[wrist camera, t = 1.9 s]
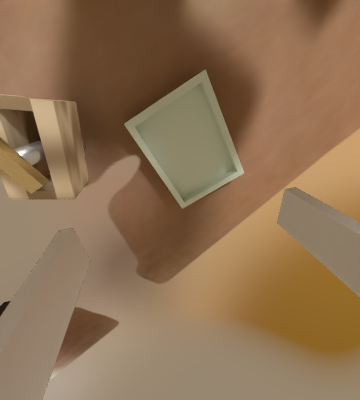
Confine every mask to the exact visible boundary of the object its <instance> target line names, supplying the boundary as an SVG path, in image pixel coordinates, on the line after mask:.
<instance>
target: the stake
mask: <svg viewBox="0 0 360 400" xmlns="http://www.w3.org/2000/svg"><path fill="white" fill-rule="evenodd" d="M82 141H83V140H82ZM83 147H84V148H85V145H84V142H83ZM45 158H46V157H45V153H44V149H43V146H42V142H41V140H39V141H36V142H33V143H31V144H28V145H25V146H22V147H19V148H16V149H13V148H12V147H11V146H10V145H9V144H8V143H6V142H5V141H4V140H3V139H2V138H1V137H0V169H1V170H2V171H4V172H5V173H6V174H7V175H9V176H10V177H11V178H12V179H14V180H15V181H16V182H17V183H19V184H20V185H21V186H22V187H24V188H25V189H26V190H27V191H29V192H30V193H31V194H32V193H33V192H35V191H36V190H38V189H39V188H41V187H42V186H44V185H45V184H46V183H47V182H49V180H48V179H47V178H46V177H45V176H43V175H42V174H41V173H40V172H39V171H38V170H37V169H36V168H34V167H33V166H32V165H34V164H36V163H38V162H39V161H41V160H43V159H45Z"/></svg>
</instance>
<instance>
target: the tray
mask: <svg viewBox="0 0 360 400" xmlns="http://www.w3.org/2000/svg"><path fill="white" fill-rule="evenodd" d="M124 125H125V127H126V128H127V130H128V131H129V133H130V134H131V135H132V137H133V138H134V140H135V141H136V143H137V144H138V146H139V147H140V148H141V150H142V151H143V153H144V154H145V156H146V157H147V159H148V160H149V161H150V163H151V164H152V166H153V167H154V169H155V170H156V172H157V173H158V174H159V176H160V177H161V179H162V180H163V182H164V183H165V185H166V186H167V187H168V189H169V190H170V192H171V193H172V195H173V196H174V198H175V199H176V201H177V202H178V203H179V205H180V206H181V208H182V209H183V208H185V207H187V206H188V205H190V204H192V203H193V202H195V201H197V200H199V199H200V198H202V197H204V196H205V195H207V194H209V193H211V192H212V191H214V190H216V189H218V188H219V187H221V186H223V185H224V184H226V183H228V182H230V181H231V180H233V179H235V178H236V177H238V176H240V175H242V174H243V173H244V171H243V168H242V166H241V163H240V160H239V158H238V155H237V152H236V150H235V147H234V144H233V142H232V139H231V136H230V134H229V131H228V128H227V125H226V123H225V120H224V117H223V115H222V112H221V109H220V107H219V104H218V101H217V99H216V96H215V93H214V91H213V88H212V85H211V83H210V80H209V77H208V75H207V72H206V69H205V70H203V71H202V72H200V73H199V74H197V75H196V76H194V77H193V78H191V79H190V80H188V81H187V82H185V83H184V84H182V85H181V86H179V87H178V88H176V89H175V90H173V91H172V92H170V93H169V94H167V95H166V96H164V97H163V98H161V99H160V100H158V101H157V102H155V103H154V104H152V105H151V106H149V107H148V108H146V109H145V110H143V111H142V112H140V113H139V114H137V115H136V116H135V117H133V118H132V119H130V120H129V121H127V122H126V123H124Z"/></svg>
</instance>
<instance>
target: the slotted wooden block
mask: <svg viewBox="0 0 360 400" xmlns="http://www.w3.org/2000/svg"><path fill="white" fill-rule="evenodd" d="M0 137H1V138H2V139H3V140H4V141H5V142H6V143H8V144H9V145H10V146H11V147H12V148H13V149H16V148H19V147H22V146H25V145H28V144H31V143H33V142H36V141H39V140H41V142H42V146H43V149H44V153H45V157H46V158H45V159H43V160H41V161H39V162H38V163H36V164H34V165H32V166H33V167H34V168H36V169H37V170H38V171H39V172H40V173H41V174H42V175H43V176H45V177H46V178H47V179H48V180H49V182H47V183H46V184H45V185H44V186H42V187H41V188H39V189H38V190H36V191H35V192H33V193H32V194H31V193H30V192H29V191H27V190H26V189H25V188H24V187H22V186H21V185H20V184H19V183H17V182H16V181H15V180H14V179H12V178H11V177H10V176H9V175H7V174H6V173H5V172H4V171H2V170H1V169H0V177H1V179H2V181H3V184H4V186H5V188H6V191H7V193H8V196H9V198H10V199H75V198H76V196H77V195H78V194H79V193H80V191H81V190H82V189H83V187H84V186H85V185H86V183H87V182H88V181H89V177H88V171H87V165H86V159H85V153H84V147H83V141H82V135H81V129H80V123H79V117H78V111H77V105H76V102H73V101H63V100H53V99H43V98H34V97H24V96H14V95H0Z"/></svg>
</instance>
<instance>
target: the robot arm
mask: <svg viewBox="0 0 360 400" xmlns="http://www.w3.org/2000/svg"><path fill="white" fill-rule="evenodd" d="M277 223H278V224H279V225H280V226H281V227H282V228H283V229H284V230H285V231H287V232H288V233H289V234H290V235H291V236H292V237H293V238H294V239H295V240H297V241H298V242H299V243H300V244H301V245H302V246H303V247H304V248H305V249H307V250H308V251H309V252H310V253H311V254H312V255H313V256H314V257H315V258H317V259H318V260H319V261H320V262H321V263H322V264H324V266H325V267H327V268H328V269H329V270H330V271H331V272H332V273H333V274H334V275H336V276H337V277H338V278H339V279H340V280H341V281H342V282H343V283H345V285H347V286H348V287H349V288H350V289H351V290H352V291H353V292H354V293H356V294H357V295H358V296H359V297H360V222H358V221H356V220H354V219H352V218H350V217H349V216H347V215H345V214H343V213H341V212H340V211H338V210H336V209H334V208H332V207H331V206H329V205H327V204H325V203H323V202H322V201H320V200H318V199H316V198H314V197H312V196H311V195H309V194H307V193H305V192H303V191H301V190H300V189H298V188H296V187H294V188H289V189H285V191H284V194H283V199H282V203H281V207H280V212H279V216H278V220H277ZM89 264H90V259H89V257H88V255H87V253H86V251H85V249H84V248H83V246H82V244H81V242H80V240H79V238H78V236H77V234H76V233H75V231H74V229H73V228H70V229H65V230H60V231H58V233H57V234H56V236H55V237H54V239H53V240H52V241H51V243H50V244H49V246H48V247H47V249H46V250H45V252H44V253H43V255H42V256H41V258H40V259H39V261H38V262H37V263H36V265H35V266H34V268H33V269H32V271H31V273H30V274H29V275H28V277H27V278H26V280H25V281H24V283H23V284H22V285H21V287H20V288H19V290H18V291H17V293H16V294H15V296H14V297H13V299H12V300H11V301H8V302H4V303H3V304H2V305H1V306H0V400H43V397H44V394H45V391H46V388H47V385H48V382H49V380H50V377H51V374H52V371H53V368H54V365H55V362H56V359H57V357H58V354H59V351H60V348H61V345H62V342H63V339H64V336H65V334H66V331H67V328H68V325H69V322H70V319H71V316H72V313H73V310H74V308H75V304H76V302H77V299H78V296H79V293H80V290H81V287H82V284H83V282H84V279H85V276H86V273H87V270H88V267H89Z"/></svg>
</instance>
